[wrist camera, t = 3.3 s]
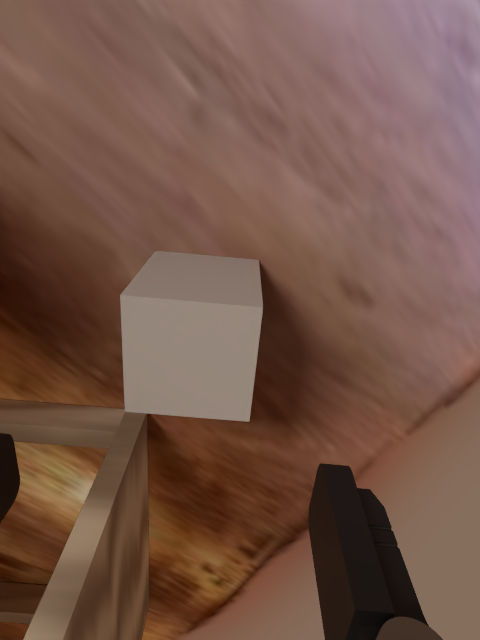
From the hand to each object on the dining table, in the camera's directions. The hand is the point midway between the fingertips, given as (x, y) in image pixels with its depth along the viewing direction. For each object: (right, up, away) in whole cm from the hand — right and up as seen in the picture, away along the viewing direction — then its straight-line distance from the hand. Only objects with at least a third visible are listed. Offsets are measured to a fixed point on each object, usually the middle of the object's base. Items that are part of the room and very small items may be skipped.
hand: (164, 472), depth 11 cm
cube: (0, +5, +10) cm, 11 cm away
